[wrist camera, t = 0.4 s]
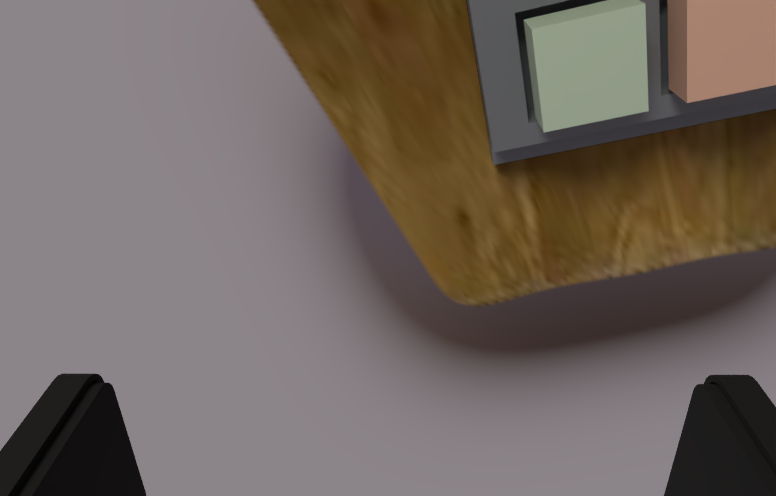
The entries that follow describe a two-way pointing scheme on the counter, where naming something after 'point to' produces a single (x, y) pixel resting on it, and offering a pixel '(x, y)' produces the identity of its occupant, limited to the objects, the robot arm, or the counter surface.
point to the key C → (588, 63)
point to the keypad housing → (526, 138)
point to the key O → (720, 47)
